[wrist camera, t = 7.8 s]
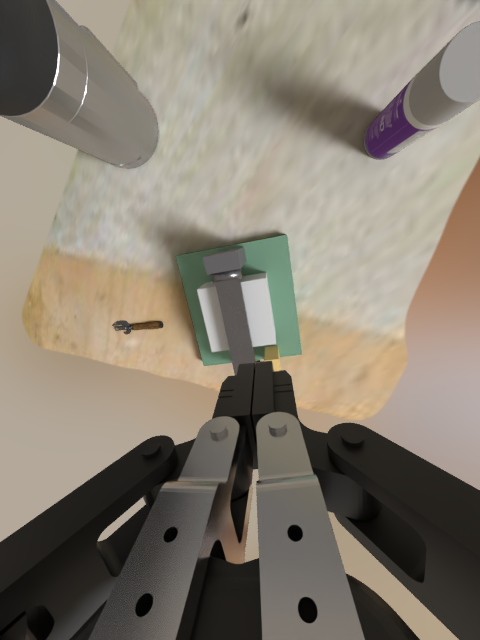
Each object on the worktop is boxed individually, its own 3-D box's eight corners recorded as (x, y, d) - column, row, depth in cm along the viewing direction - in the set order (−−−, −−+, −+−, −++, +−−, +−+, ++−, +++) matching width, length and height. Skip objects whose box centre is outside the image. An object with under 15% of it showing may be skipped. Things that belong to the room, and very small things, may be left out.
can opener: (163, 320, 43) (160, 322, 42) (165, 333, 44) (162, 336, 43) (112, 319, 44) (108, 321, 43) (114, 332, 45) (111, 335, 44)
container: (358, 127, 32) (430, 44, 18) (398, 106, 31) (508, 0, 17) (369, 166, 33) (444, 118, 19) (408, 148, 32) (519, 81, 18)
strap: (219, 265, 36) (209, 271, 31) (244, 260, 36) (239, 266, 30) (240, 368, 41) (235, 390, 35) (262, 365, 41) (261, 387, 35)
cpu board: (179, 255, 39) (152, 262, 30) (286, 234, 37) (291, 235, 28) (205, 361, 44) (189, 394, 35) (300, 350, 42) (309, 382, 33)
